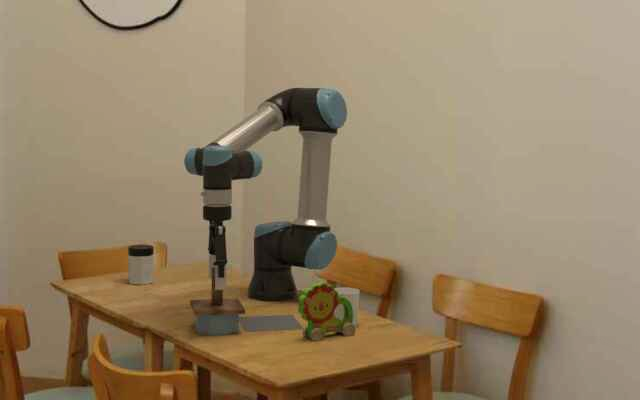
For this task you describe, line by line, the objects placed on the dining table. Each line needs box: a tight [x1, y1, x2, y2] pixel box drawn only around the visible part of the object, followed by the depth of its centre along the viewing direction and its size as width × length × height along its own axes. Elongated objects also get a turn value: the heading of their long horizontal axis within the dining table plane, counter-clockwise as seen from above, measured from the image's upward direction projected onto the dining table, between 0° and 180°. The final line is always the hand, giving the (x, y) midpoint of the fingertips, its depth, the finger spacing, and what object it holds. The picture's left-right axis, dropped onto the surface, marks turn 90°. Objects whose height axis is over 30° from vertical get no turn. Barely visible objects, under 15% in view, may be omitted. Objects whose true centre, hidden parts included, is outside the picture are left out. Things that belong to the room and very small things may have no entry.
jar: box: [127, 244, 155, 285], centre depth 313 cm, size 9×8×12 cm
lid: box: [189, 267, 246, 317], centre depth 254 cm, size 13×13×11 cm
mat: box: [239, 314, 304, 333], centre depth 263 cm, size 16×16×1 cm
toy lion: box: [297, 281, 356, 342], centre depth 249 cm, size 16×6×15 cm, turn 122°
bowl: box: [195, 314, 240, 336], centre depth 255 cm, size 11×11×6 cm
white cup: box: [334, 287, 361, 329], centre depth 262 cm, size 8×8×10 cm
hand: (217, 284), depth 254 cm, fingers open, 13 cm apart
